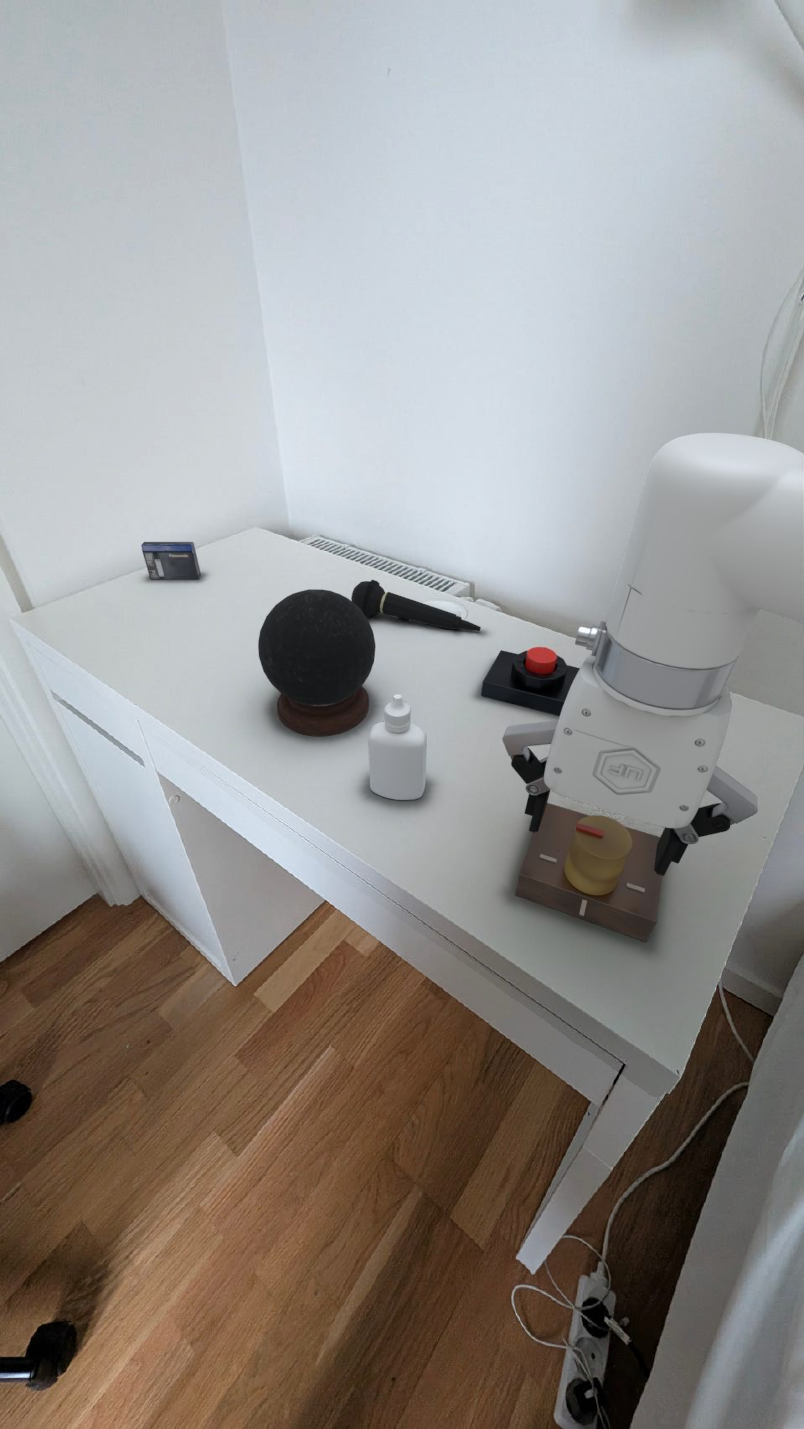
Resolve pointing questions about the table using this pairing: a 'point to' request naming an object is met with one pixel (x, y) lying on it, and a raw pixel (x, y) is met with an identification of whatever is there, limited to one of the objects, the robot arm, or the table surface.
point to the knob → (597, 854)
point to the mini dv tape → (171, 560)
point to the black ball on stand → (318, 661)
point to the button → (541, 660)
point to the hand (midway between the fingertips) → (596, 839)
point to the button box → (528, 683)
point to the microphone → (403, 607)
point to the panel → (617, 910)
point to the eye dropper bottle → (397, 754)
